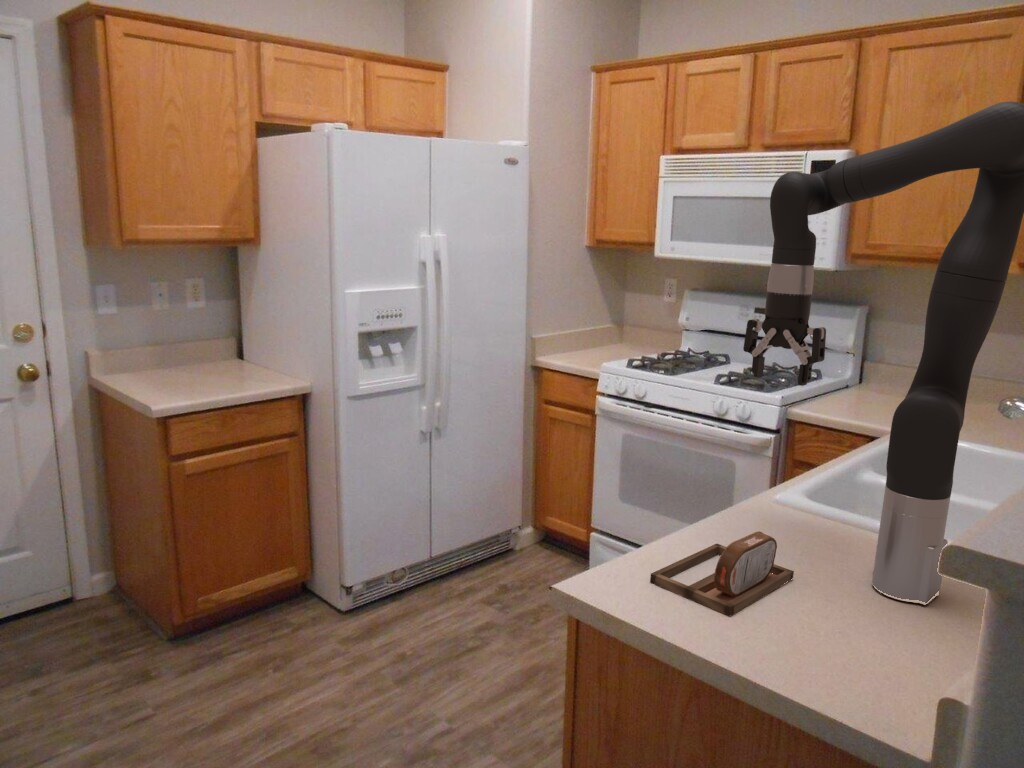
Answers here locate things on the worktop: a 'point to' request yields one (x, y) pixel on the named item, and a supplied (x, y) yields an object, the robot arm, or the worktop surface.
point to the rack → (706, 589)
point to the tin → (745, 563)
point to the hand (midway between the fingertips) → (779, 381)
